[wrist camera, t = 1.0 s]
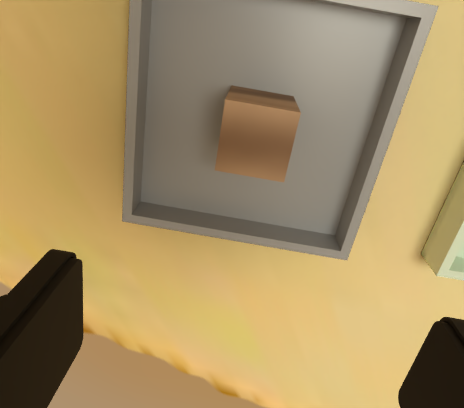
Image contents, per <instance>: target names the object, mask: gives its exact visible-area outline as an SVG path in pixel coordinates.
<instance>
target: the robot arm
mask: <svg viewBox="0 0 464 408" xmlns="http://www.w3.org/2000/svg"><path fill="white" fill-rule="evenodd" d="M82 340H83V274H82V261H81V260H80V259H76V255H75V253H73V252H67V251H61V250H55V249H51V250H50V251H48V252H47V253H46V254H45V255H44V256H43V258H42V259H41V260H40V261H39V262H38V263H37V264H36V265H35V266H34V267H33V268H32V269H31V270H30V271H29V272H28V273H27V274H26V275H25V276H24V278H23V279H22V280H21V281H20V282H19V283H18V284H17V285H16V286H15V287H14V288H13V289H12V290H11V291H10V292H9V293H8V295H3V296H1V297H0V408H47V407H48V405H49V403H50V402H51V400H52V398H53V396H54V394H55V393H56V391H57V389H58V387H59V386H60V384H61V382H62V380H63V378H64V377H65V375H66V373H67V371H68V370H69V368H70V366H71V364H72V362H73V361H74V359H75V357H76V355H77V353H78V351H79V350H80V347H81V345H82ZM398 399H399V405H400V408H464V320H461V319H455V318H450V317H443V318H442V319H441V320H440V321H436V322H435V323H434V324H433V326H432V328H431V330H430V331H429V333H428V335H427V337H426V339H425V341H424V343H423V345H422V347H421V349H420V351H419V353H418V355H417V357H416V359H415V361H414V363H413V365H412V366H411V368H410V370H409V372H408V374H407V376H406V378H405V380H404V382H403V384H402V386H401V388H400V390H399V395H398Z"/></svg>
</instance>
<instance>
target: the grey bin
mask: <svg viewBox="0 0 464 408" xmlns="http://www.w3.org/2000/svg"><path fill="white" fill-rule="evenodd" d="M437 9H438V6H434V5H429V4H423V3H418V2H412V1H407V0H130V6H129V36H128V66H127V95H126V125H125V155H124V185H123V214H122V221H123V222H129V223H135V224H140V225H146V226H152V227H158V228H164V229H169V230H175V231H181V232H187V233H192V234H198V235H204V236H210V237H215V238H221V239H227V240H233V241H238V242H244V243H250V244H256V245H262V246H267V247H273V248H279V249H285V250H290V251H296V252H302V253H308V254H313V255H319V256H325V257H331V258H337V259H342V260H347V259H348V257H349V254H350V251H351V248H352V245H353V243H354V240H355V237H356V234H357V232H358V229H359V226H360V223H361V220H362V218H363V215H364V212H365V209H366V207H367V204H368V201H369V198H370V195H371V193H372V190H373V187H374V184H375V182H376V179H377V176H378V173H379V170H380V168H381V165H382V162H383V159H384V156H385V154H386V151H387V148H388V145H389V143H390V140H391V137H392V134H393V131H394V129H395V126H396V123H397V120H398V118H399V115H400V112H401V109H402V106H403V104H404V101H405V98H406V95H407V93H408V90H409V87H410V84H411V81H412V79H413V76H414V73H415V70H416V68H417V65H418V62H419V59H420V56H421V54H422V51H423V48H424V45H425V43H426V40H427V37H428V34H429V31H430V29H431V26H432V23H433V20H434V18H435V15H436V12H437ZM231 85H233V86H239V87H244V88H250V89H256V90H261V91H267V92H272V93H278V94H284V95H289V96H294V98H295V101H296V103H297V105H298V107H299V109H300V112H301V115H300V119H299V123H298V127H297V131H296V135H295V139H294V143H293V148H292V152H291V156H290V160H289V164H288V168H287V172H286V177H285V181H284V182H278V181H272V180H267V179H261V178H255V177H250V176H244V175H238V174H232V173H227V172H221V171H215V164H216V158H217V151H218V144H219V138H220V131H221V124H222V117H223V111H224V104H225V99H226V96H227V94H228V92H229V90H230V88H231Z"/></svg>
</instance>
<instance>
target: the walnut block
mask: <svg viewBox="0 0 464 408" xmlns="http://www.w3.org/2000/svg"><path fill="white" fill-rule="evenodd" d="M300 115H301V112H300V109H299V107H298V105H297V103H296V101H295V98H294V96H289V95H284V94H278V93H272V92H267V91H261V90H256V89H250V88H244V87H239V86H233V85H231V88H230V90H229V92H228V94H227V96H226V99H225V104H224V111H223V117H222V124H221V131H220V138H219V144H218V151H217V158H216V164H215V171H221V172H227V173H232V174H238V175H244V176H250V177H255V178H261V179H267V180H272V181H278V182H284V181H285V177H286V172H287V168H288V164H289V160H290V156H291V152H292V148H293V143H294V139H295V135H296V131H297V127H298V123H299V119H300Z"/></svg>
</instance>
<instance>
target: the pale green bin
mask: <svg viewBox="0 0 464 408" xmlns="http://www.w3.org/2000/svg"><path fill="white" fill-rule="evenodd" d="M421 254H422V256H423V257H424V259H425V260H426V262H427V263H428V264H429V266H430V267H431V269H432V270H433V272H434V273H435V275H436V276H440V277H446V278H452V279H458V280H463V281H464V162H463V164H462V166H461V168H460V170H459V173H458V175H457V177H456V179H455V181H454V183H453V186H452V188H451V190H450V192H449V194H448V196H447V199H446V201H445V203H444V205H443V207H442V209H441V212H440V214H439V216H438V218H437V220H436V222H435V225H434V227H433V229H432V231H431V233H430V235H429V238H428V240H427V242H426V244H425V246H424V248H423V251H422V253H421Z"/></svg>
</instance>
